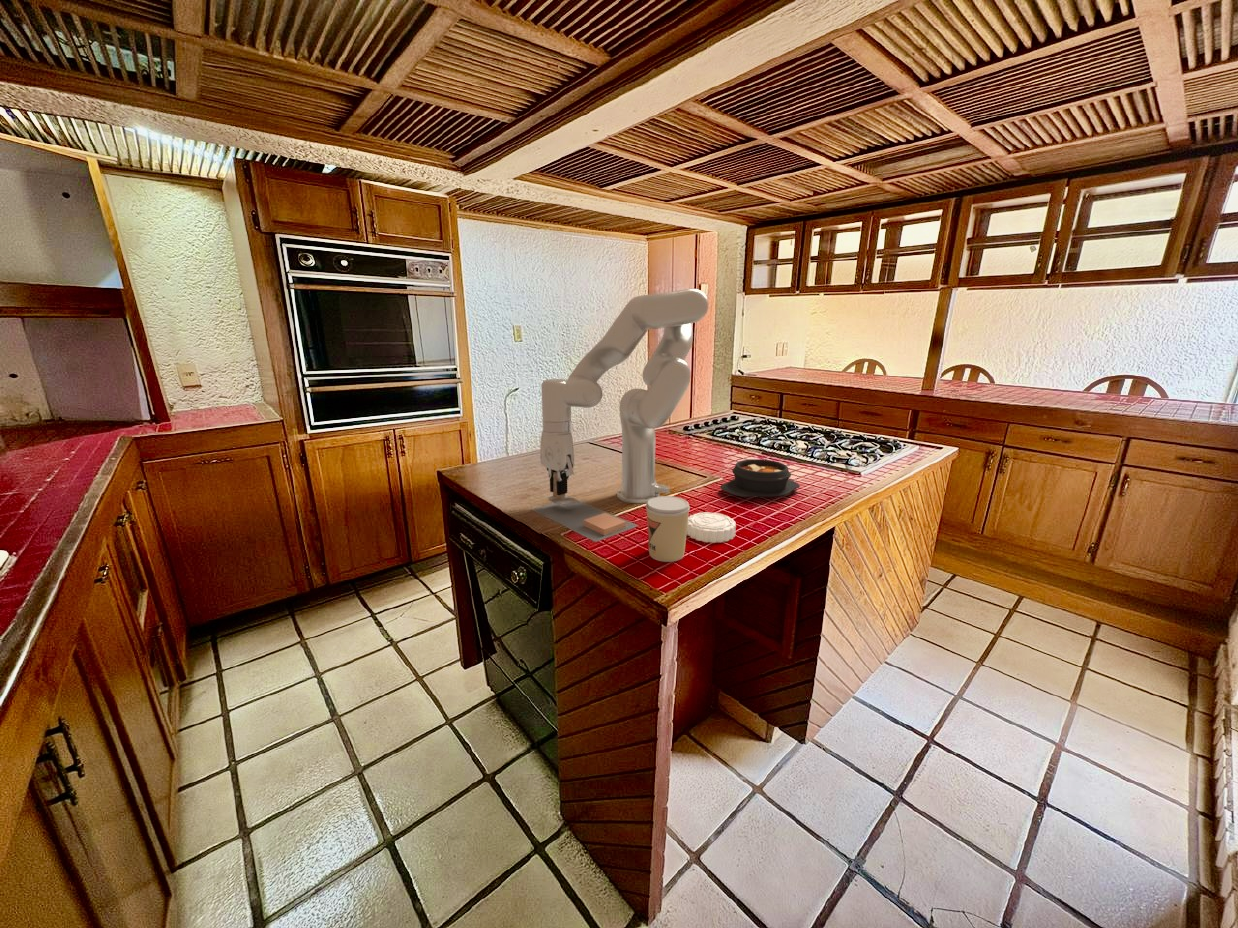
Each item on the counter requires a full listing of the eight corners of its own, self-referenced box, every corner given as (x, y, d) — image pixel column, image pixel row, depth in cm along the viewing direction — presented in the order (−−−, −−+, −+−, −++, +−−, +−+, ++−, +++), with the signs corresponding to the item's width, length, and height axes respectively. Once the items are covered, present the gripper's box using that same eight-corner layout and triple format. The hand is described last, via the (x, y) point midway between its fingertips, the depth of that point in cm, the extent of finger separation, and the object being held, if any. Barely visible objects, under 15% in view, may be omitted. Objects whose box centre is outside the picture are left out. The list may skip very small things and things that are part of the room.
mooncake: (711, 519, 125) (712, 507, 124) (746, 536, 115) (747, 522, 114) (675, 530, 119) (675, 516, 118) (708, 548, 109) (709, 533, 108)
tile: (583, 519, 119) (604, 529, 114) (604, 512, 124) (625, 521, 118) (583, 526, 120) (604, 536, 114) (605, 518, 124) (625, 528, 119)
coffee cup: (642, 545, 110) (643, 496, 107) (682, 543, 111) (684, 494, 107) (648, 564, 101) (649, 511, 98) (692, 562, 102) (694, 510, 98)
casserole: (746, 508, 132) (748, 479, 130) (707, 488, 148) (708, 462, 146) (814, 495, 142) (817, 468, 140) (770, 478, 158) (772, 453, 156)
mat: (531, 510, 131) (531, 509, 131) (572, 498, 140) (572, 497, 140) (595, 543, 111) (595, 541, 111) (638, 526, 120) (638, 525, 120)
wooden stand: (548, 499, 131) (548, 472, 130) (563, 496, 135) (563, 470, 133) (563, 506, 126) (563, 478, 125) (578, 503, 130) (579, 475, 128)
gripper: (528, 423, 130) (531, 488, 135) (563, 433, 118) (564, 503, 123) (551, 420, 135) (553, 483, 140) (587, 429, 123) (587, 497, 128)
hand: (558, 492), depth 131 cm, fingers closed on wooden stand, 2 cm apart
